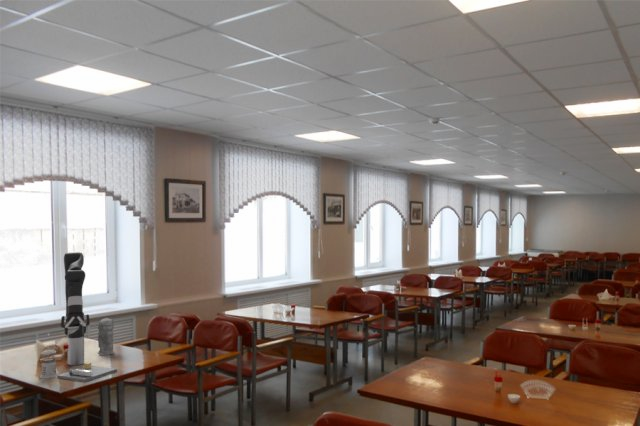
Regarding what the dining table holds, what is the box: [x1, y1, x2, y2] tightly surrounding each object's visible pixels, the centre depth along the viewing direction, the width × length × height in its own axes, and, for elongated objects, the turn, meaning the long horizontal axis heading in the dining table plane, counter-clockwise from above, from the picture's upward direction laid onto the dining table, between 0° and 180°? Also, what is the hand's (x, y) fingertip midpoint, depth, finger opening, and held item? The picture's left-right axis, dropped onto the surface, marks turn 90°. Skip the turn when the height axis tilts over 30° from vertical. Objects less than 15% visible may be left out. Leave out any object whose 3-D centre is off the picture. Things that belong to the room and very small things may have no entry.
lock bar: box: [68, 367, 92, 376], centre depth 293 cm, size 16×4×2 cm, turn 65°
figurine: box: [97, 317, 115, 356], centre depth 353 cm, size 10×14×25 cm
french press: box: [39, 332, 59, 379], centre depth 301 cm, size 10×12×25 cm
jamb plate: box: [56, 361, 118, 383], centre depth 300 cm, size 23×23×4 cm
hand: (75, 334), depth 278 cm, fingers open, 8 cm apart
